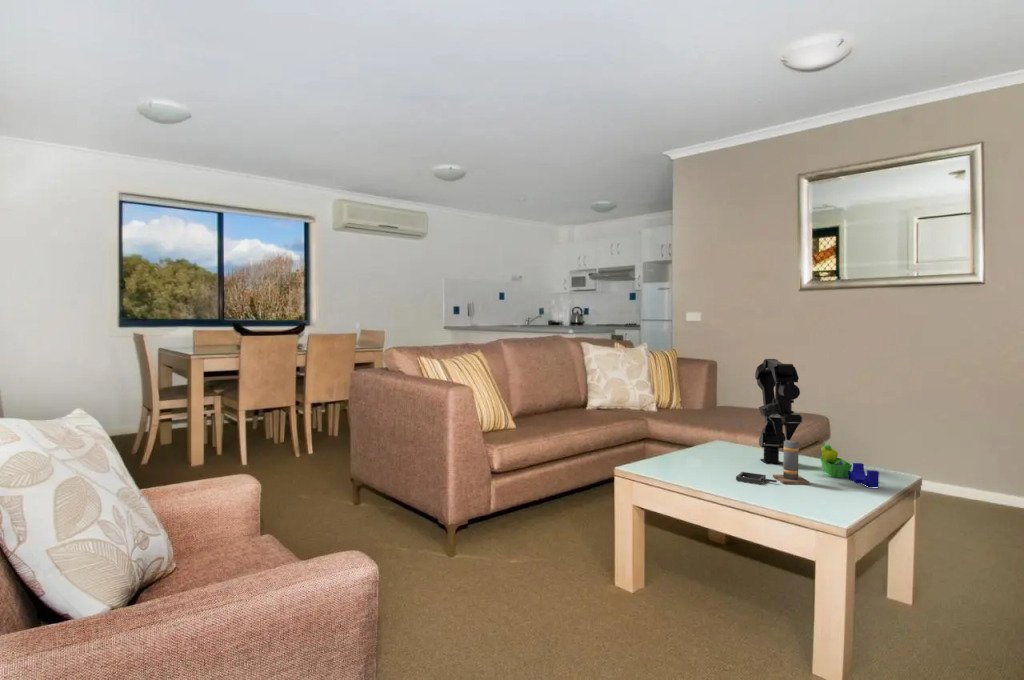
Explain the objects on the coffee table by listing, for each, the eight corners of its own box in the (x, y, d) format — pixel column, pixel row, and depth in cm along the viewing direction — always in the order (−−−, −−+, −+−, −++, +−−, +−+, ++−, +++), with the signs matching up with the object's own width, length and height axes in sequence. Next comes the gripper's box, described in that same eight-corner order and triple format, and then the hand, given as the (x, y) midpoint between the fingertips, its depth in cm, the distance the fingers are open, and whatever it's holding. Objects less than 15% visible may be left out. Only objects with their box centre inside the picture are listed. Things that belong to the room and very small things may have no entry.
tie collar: (742, 475, 214) (742, 471, 214) (778, 481, 207) (778, 477, 207) (736, 480, 208) (736, 476, 208) (773, 486, 200) (773, 482, 200)
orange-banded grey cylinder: (780, 476, 209) (780, 441, 209) (790, 475, 211) (790, 440, 211) (791, 480, 205) (791, 443, 204) (801, 478, 207) (801, 442, 206)
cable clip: (848, 479, 211) (848, 462, 211) (861, 479, 211) (861, 463, 210) (864, 488, 199) (864, 471, 199) (878, 488, 199) (878, 471, 198)
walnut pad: (772, 477, 213) (772, 474, 213) (797, 477, 212) (797, 474, 212) (783, 484, 204) (783, 481, 204) (809, 484, 203) (809, 481, 203)
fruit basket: (853, 479, 211) (853, 448, 210) (827, 478, 212) (827, 447, 212) (839, 471, 222) (840, 441, 222) (815, 470, 223) (815, 441, 223)
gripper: (752, 394, 229) (752, 433, 229) (771, 399, 210) (771, 442, 211) (781, 394, 228) (780, 433, 229) (803, 399, 210) (802, 442, 210)
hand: (783, 437), depth 220 cm, fingers open, 9 cm apart
